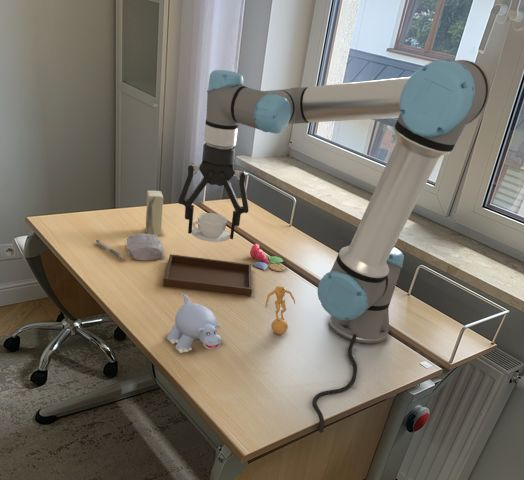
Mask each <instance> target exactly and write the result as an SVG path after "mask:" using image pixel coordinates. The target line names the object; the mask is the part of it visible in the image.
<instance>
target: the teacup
mask: <svg viewBox="0 0 524 480" xmlns="http://www.w3.org/2000/svg"><path fill="white" fill-rule="evenodd" d="M227 224H228V218H227V217H225V216H224V215H222V214H219V213H213V212H203V213H200V214H198V216H197V220H195V221H193V224H192V232H191V235H192V236H193V237H194V238H196V239H199V240H201V241H204V242H209V243H223V242H226V241H228V240H229V239H230V235H231V233H229V232H228V231H227V230H226V228H227ZM196 225H197V227H196Z"/></svg>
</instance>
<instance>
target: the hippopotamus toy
mask: <svg viewBox="0 0 524 480" xmlns="http://www.w3.org/2000/svg"><path fill="white" fill-rule="evenodd" d="M180 295H182V296H183V302H184V304H183V305H181V306H180V308H179V309H178V310H177V311H176V314H175V317H174V318H175V319H174V324H173V326H172V327H171V330H170V332H168V335H167V338H166V339H167V341H169V342H170V343H171V344H172V345H174V344H176V345H175V350H177V351H178V353H179V354H183V353H189V352H190V351H192V350H193V348H192V345H193V343H194V342H195V340H199V341H200V343H202V345H203V347H204V348H205V349H207V350H210V351H214V350H216V349H218V348H220V346H221V342H222V337H221V336H220V335H219V334H217V329H220V328H221V325H220V324H219V323H218V320H217V318H216V316H215V314H214V313H213V311H211V309H210V308H209V307H207V306H204V305H202V304H199V303H196V302H191V300H190V299H189V297H188V295H187V294H186V293H180Z"/></svg>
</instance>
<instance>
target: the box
mask: <svg viewBox="0 0 524 480" xmlns="http://www.w3.org/2000/svg"><path fill="white" fill-rule="evenodd" d="M163 207H164V196H163V193H162V190H147V192H146V215H145V231H146V234H151V235H155V234H157V236H161V235H162V226H163V225H162V223H163V210H164V209H163Z"/></svg>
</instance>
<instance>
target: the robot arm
mask: <svg viewBox="0 0 524 480" xmlns="http://www.w3.org/2000/svg"><path fill="white" fill-rule="evenodd" d="M208 79H209V80H208V87H207V91H206V93H207V94H206V115H205V122H204V132H203V133H204V134H203V142H204V144H202V145H203V147H202V158H201V163H200V164H195V163H193V162H190V163H188V164H189V165H188V166H187V177H186V179H185V182H184V184H183V187H182V190H181V193H180V194H179V198H178V201H177V203H178V204H179V205H182V206H184V220H188V229H187V234H190V235H192V233H191V232H192V230H193V223H194V211H195V210H194V209H195V205H194V202H195V201H196V199H197V198H198V197H199V196H200V194H201V192H202V191H203V189H204V188H205V187H206V186H207V185H208V184H209V185H211V186H214V185H215V186H219V187H223V188H224V190H225V191H226V193H227V196H228V198H229V200H230V202H231V204H232V207H233V209H234V210H233V211H232V219H231V228H230V238H229V239H230V240H234V235H235V227H239V226H240V223H241V217H242V216H241V215H242V214H247V213H249V210H250V209H249V201H248V194H247V188H246V182H245V181H246V176H247V175H246V172H247V171H245V169H242V170H238V169H235V157H236V148H235V147H236V145H237V138H238V130H239V124H241V125H244V126H248V127H250V128H253V129H256V130H259V131H262V132H263V133H271V134H281V133H282V132H283V131H284V129H286V128H287V127H288V126H289V125H294V124H310V123H328V122H346V121H364V120H365V121H366V120H382V119H397V120H396V122H395V125H394V126H393V130H394V132H395V136H396V138H397V140H396V142H395V144H394V146H393V148H392V150H391V153H390V155H389V158H388V159H387V162H386V164H385V166H384V169H383V171H382V173H381V175H380V178H379V179H378V182H377V184H376V187H375V189H374V190H373V193H372V195H371V198H370V200H369V202H368V204H367V206H366V209H365V211H364V213H363V214H362V217H361V219H360V222H359V224H358V226H357V229H356V230H355V232H354V235H353V238H352V240H351V242H350V244H349V245H347V246H344V247H341V249H339V252H338V253H337V256H336V258H335V260H334V263H333V265H332V268H331V269H330V270H329V272H327V273H325V274H324V275H323V277H321V279H320V281H319V282H318V285H317V298H318V300H319V302H320V304H321V307H322V308H323V309H324V310H325V312H327V314H329V315H330V319H329V325H330V327H331V329H332V331H334V332H335V333H336V334H337V335H339V336H340V337H342V338H344V339H346V340H348V341H350V343H349V344H348V347H347V348H348V349H347V356H348V359H349V361H350V363H351V365H352V376H351V379H350V381H349V382H348V383H347V384H346V385H344V386H343V387H341V388H336V389H329V390H324V391H321V392H318V393H317V394H316V395H315V396H314V397H313V399H312V403H311V404H312V408H313V409H314V411H315V413H316V414H317V417H318V421H319V425H318V426H319V427H318V432H319V433H320V434H321V433H324V430H325V419H324V415H323V413H322V410H321V409H320V407H319V406H318V403H317V402H318V401H319V399H320V398H322V397H324V396H329V395H336V394H340V393H343V392H346V391H348V390H349V389H350V388H351V387H352V386H353V385H354V384H355V382H356V379H357V374H358V366H357V362H356V360H355V359H354V356H353V347H354V345H355V343H359V344H364V345H365V344H366V345H368V344H369V345H373V344H378V343H382V342H384V341H385V340H386V339H387V337H388V334H389V332H390V316H389V315H390V314H389V313H390V311H389V309H390V305H391V301H392V299H393V295H394V292H395V289H396V286H397V283H398V280H399V277H400V274H401V270H402V268H403V265H404V264H403V263H404V259H405V256H404V254H403V251H401V250H399V249H398V248H396V247H395V245H396V244H397V242H398V239H399V238H400V236H401V234H402V232H403V230H404V228H405V226H406V224H407V222H408V220H409V218H410V216H411V214H412V212H413V210H414V208H415V206H416V204H417V202H418V200H419V198H420V197H421V194H422V192H423V191H424V188H425V187H426V185H427V182H428V181H429V179H430V177H431V174H432V173H433V171H434V169H435V167H436V165H437V163H438V161H439V159H440V158H441V157H444V156H446V155H449V154H451V153H453V150H454V149H455V146H456V145H457V142H458V140H459V138H460V136H461V134H462V133H463V131H464V129H465V127H466V125H469V124H471V123H472V122H473V121H474V120H475V119H478V117H479V116H480V115H481V113H483V111H484V109H485V108H486V106H487V104H488V101H489V98H490V89H491V87H490V81H489V78H488V75H487V73H486V72H485V70H484V69H483V68H482V67H481V65H479V64H478V63H475V62H473V61H470V60H467V59H457V60H452V59H448V58H447V59H437V60H434V61H431V62H428V63H427V64H424V65H423V66H421V67H420V68H418V69H417V70H415V71H414V72H413V74H411V75H410V76H408V77H407V76H406V77H397V78H396V77H395V78H385V79H376V80H366V81H355V82H344V83H335V84H324V85H315V86H304V87H303V86H302V87H291V88H284V89H274V90H273V89H272V90H271V89H270V90H259V89H255V88H251V87H248V86H245V85H244V76H243V75H242V74H241V73H239V72H236V71H232V70H225V69H214V70H213V71H211V72H210V74H209V78H208ZM198 171H200V173H201V175H202V178H201V180H200V181H199V183H198V184H197V186H196V187H195V189H194V190H193V191H192V193H190V196H189V197H188V198H186V196H187V193H188V191H189V188H190V185H191V183H192V180H193V179H194V178H193V177H194V175H196V174H198ZM234 176H235V177H236V180H237V181H238V183H239V185H238V186H239V191H240V197H241V203H242V206H241V205H240V202H239V201H238V198H237V195H236V193H235V191H234V188H233V187H232V183H231V181H230V180H231V179H232V178H233V177H234Z"/></svg>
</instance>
